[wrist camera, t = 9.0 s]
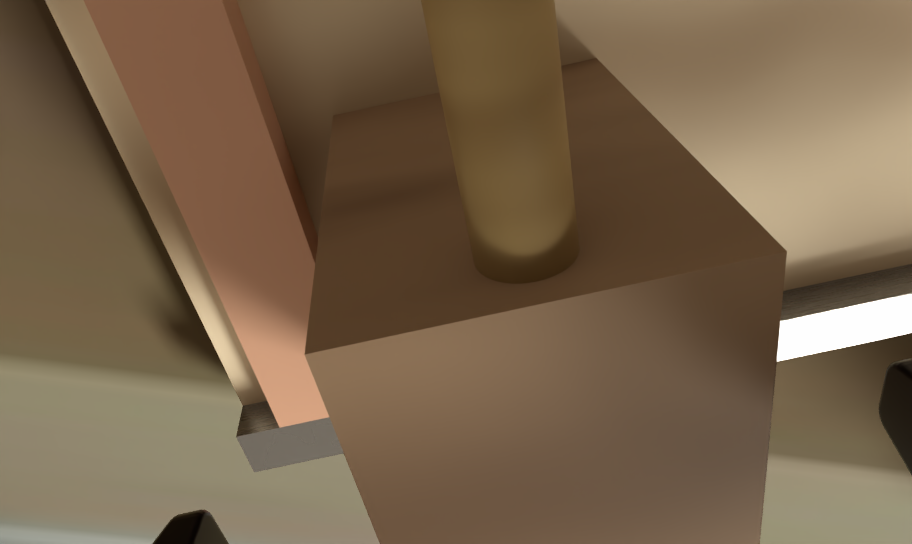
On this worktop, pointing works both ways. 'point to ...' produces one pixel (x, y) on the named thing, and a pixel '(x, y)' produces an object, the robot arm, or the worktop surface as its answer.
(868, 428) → the worktop surface
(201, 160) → the bar
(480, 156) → the marking gauge
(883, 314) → the guide rail
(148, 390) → the worktop surface
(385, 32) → the maple board
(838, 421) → the worktop surface
